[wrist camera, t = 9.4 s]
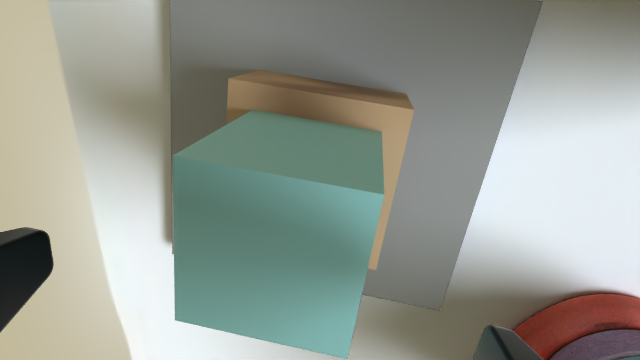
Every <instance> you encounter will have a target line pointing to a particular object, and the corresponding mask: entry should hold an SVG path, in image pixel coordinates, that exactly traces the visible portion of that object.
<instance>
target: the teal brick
mask: <svg viewBox="0 0 640 360" xmlns="http://www.w3.org/2000/svg"><path fill="white" fill-rule="evenodd" d="M173 192H174V279H175V320H176V321H181V322H185V323H190V324H194V325H199V326H203V327H207V328H212V329H216V330H221V331H225V332H230V333H234V334H238V335H243V336H247V337H252V338H256V339H261V340H265V341H270V342H274V343H278V344H283V345H287V346H292V347H296V348H301V349H305V350H309V351H314V352H318V353H323V354H327V355H332V356H336V357H341V358H345V359H348V354H349V350H350V345H351V341H352V336H353V332H354V327H355V323H356V319H357V314H358V310H359V305H360V301H361V296H362V292H363V287H364V283H365V278H366V274H367V270H368V265H369V261H370V256H371V252H372V247H373V243H374V238H375V234H376V229H377V225H378V220H379V216H380V212H381V207H382V203H383V198H384V174H383V147H382V132H381V131H375V130H369V129H363V128H357V127H351V126H346V125H340V124H334V123H328V122H322V121H316V120H311V119H305V118H299V117H293V116H287V115H281V114H276V113H270V112H264V111H258V110H251V111H249V112H248V113H246V114H244V115H243V116H241V117H239V118H237V119H236V120H234V121H232V122H230V123H229V124H227V125H225V126H223V127H222V128H220V129H218V130H216V131H215V132H213V133H211V134H210V135H208V136H206V137H204V138H203V139H201V140H199V141H197V142H196V143H194V144H192V145H190V146H189V147H187V148H185V149H183V150H182V151H180V152H178V153H177V154H175V155H173Z"/></svg>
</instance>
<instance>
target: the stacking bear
mask: <svg viewBox="0 0 640 360" xmlns="http://www.w3.org/2000/svg"><path fill="white" fill-rule="evenodd" d="M513 332H515V333H516V334H517V335H518V336H519V337H520V338H521V339H522V340H523V341H524V342H525V343H526V344H527V345H529V346H530V347H531V348H532V349H533V350H534V351H535V352H536V353H537V354H538V355H539V356H540V357H541V358H542V359H543V360H640V299H638V298H634V297H629V296H623V295H614V294H595V295H587V296H581V297H576V298H572V299H569V300H566V301H563V302H560V303H558V304H555V305H553V306H551V307H549V308H547V309H545V310H543V311H542V312H540V313H538V314H536V315H535V316H533V317H531V318H530V319H528V320H527V321H525V322H524V323H522V324H521V325H520V326H518V327H517V328H516V329H515V330H513Z"/></svg>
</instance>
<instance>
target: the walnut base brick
mask: <svg viewBox="0 0 640 360" xmlns="http://www.w3.org/2000/svg"><path fill="white" fill-rule="evenodd" d="M251 110H258V111H264V112H270V113H276V114H281V115H287V116H293V117H299V118H305V119H311V120H316V121H322V122H328V123H334V124H340V125H346V126H351V127H357V128H363V129H369V130H375V131H381V132H382V147H383V174H384V198H383V203H382V207H381V212H380V216H379V220H378V225H377V229H376V234H375V238H374V243H373V247H372V252H371V256H370V261H369V265H368V268H369V269H374V270H376V268H377V264H378V260H379V256H380V251H381V247H382V243H383V239H384V235H385V230H386V226H387V222H388V218H389V214H390V210H391V205H392V201H393V197H394V193H395V189H396V184H397V180H398V176H399V172H400V168H401V164H402V159H403V155H404V151H405V147H406V143H407V138H408V134H409V130H410V126H411V122H412V118H413V113H414V108H413V106H412V104H411V102H410V100H409V98H408V96H407V94H403V93H397V92H391V91H385V90H379V89H373V88H367V87H361V86H355V85H348V84H342V83H336V82H330V81H324V80H318V79H312V78H306V77H300V76H294V75H288V74H282V73H276V72H270V71H264V70H257V71H254V72H250V73H246V74H243V75H239V76H236V77H232V78H228V99H227V120H226V125H227V124H229V123H230V122H232V121H234V120H236V119H237V118H239V117H241V116H243V115H244V114H246V113H248V112H249V111H251Z"/></svg>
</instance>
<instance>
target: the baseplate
mask: <svg viewBox="0 0 640 360" xmlns="http://www.w3.org/2000/svg"><path fill="white" fill-rule="evenodd" d="M542 2H543V1H539V0H170V59H171V160H172V254H174V192H173V155H175V154H177V153H178V152H180V151H182V150H183V149H185V148H187V147H189V146H190V145H192V144H194V143H196V142H197V141H199V140H201V139H203V138H204V137H206V136H208V135H210V134H211V133H213V132H215V131H216V130H218V129H220V128H222V127H223V126H225V125H226V120H227V99H228V78H232V77H236V76H239V75H243V74H246V73H250V72H254V71H257V70H264V71H270V72H276V73H282V74H288V75H294V76H300V77H306V78H312V79H318V80H324V81H330V82H336V83H342V84H348V85H355V86H361V87H367V88H373V89H379V90H385V91H391V92H397V93H403V94H407V96H408V98H409V100H410V102H411V104H412V106H413V108H414V113H413V118H412V122H411V126H410V130H409V134H408V138H407V143H406V147H405V151H404V155H403V159H402V164H401V168H400V172H399V176H398V180H397V184H396V189H395V193H394V197H393V201H392V205H391V210H390V214H389V218H388V222H387V226H386V230H385V235H384V239H383V243H382V247H381V251H380V256H379V260H378V264H377V268H376V270H374V269H369V268H368V270H367V274H366V278H365V283H364V287H363V292H362V294H363V295H367V296H372V297H377V298H382V299H386V300H391V301H396V302H400V303H405V304H410V305H415V306H419V307H424V308H429V309H433V310H438V311H440V308H441V305H442V302H443V299H444V296H445V293H446V290H447V287H448V284H449V281H450V278H451V275H452V272H453V269H454V266H455V263H456V260H457V257H458V254H459V251H460V248H461V245H462V242H463V239H464V236H465V233H466V230H467V227H468V224H469V221H470V218H471V215H472V212H473V209H474V206H475V203H476V200H477V197H478V194H479V191H480V188H481V185H482V182H483V179H484V176H485V173H486V170H487V167H488V164H489V161H490V158H491V155H492V152H493V149H494V146H495V143H496V140H497V137H498V134H499V131H500V128H501V125H502V122H503V119H504V116H505V113H506V110H507V107H508V104H509V101H510V98H511V95H512V92H513V89H514V86H515V83H516V80H517V77H518V74H519V71H520V68H521V65H522V62H523V59H524V56H525V53H526V50H527V47H528V44H529V41H530V38H531V35H532V32H533V29H534V26H535V23H536V20H537V17H538V14H539V11H540V8H541V5H542Z"/></svg>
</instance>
